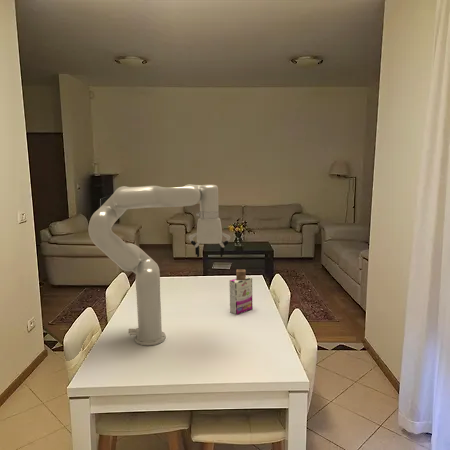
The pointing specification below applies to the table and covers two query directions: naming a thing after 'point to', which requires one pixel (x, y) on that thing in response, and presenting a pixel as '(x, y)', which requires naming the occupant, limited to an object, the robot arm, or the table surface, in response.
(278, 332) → the table surface
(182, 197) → the robot arm
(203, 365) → the table surface
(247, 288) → the candy bar box
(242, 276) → the walnut block
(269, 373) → the table surface
